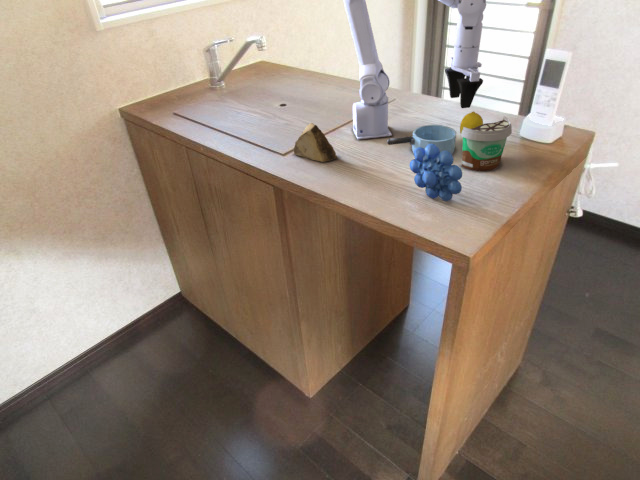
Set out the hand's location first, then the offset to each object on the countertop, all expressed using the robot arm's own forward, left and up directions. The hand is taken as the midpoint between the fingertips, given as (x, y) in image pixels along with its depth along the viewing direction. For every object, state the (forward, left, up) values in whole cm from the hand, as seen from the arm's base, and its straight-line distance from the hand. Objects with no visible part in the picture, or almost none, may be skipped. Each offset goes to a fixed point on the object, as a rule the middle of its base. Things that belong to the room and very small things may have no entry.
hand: (459, 102), depth 113 cm
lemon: (+2, -4, -10) cm, 11 cm away
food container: (+1, -18, -10) cm, 20 cm away
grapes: (-16, -29, -10) cm, 35 cm away
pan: (-8, -6, -9) cm, 14 cm away
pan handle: (-17, -6, -7) cm, 19 cm away
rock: (-38, -2, -10) cm, 39 cm away
